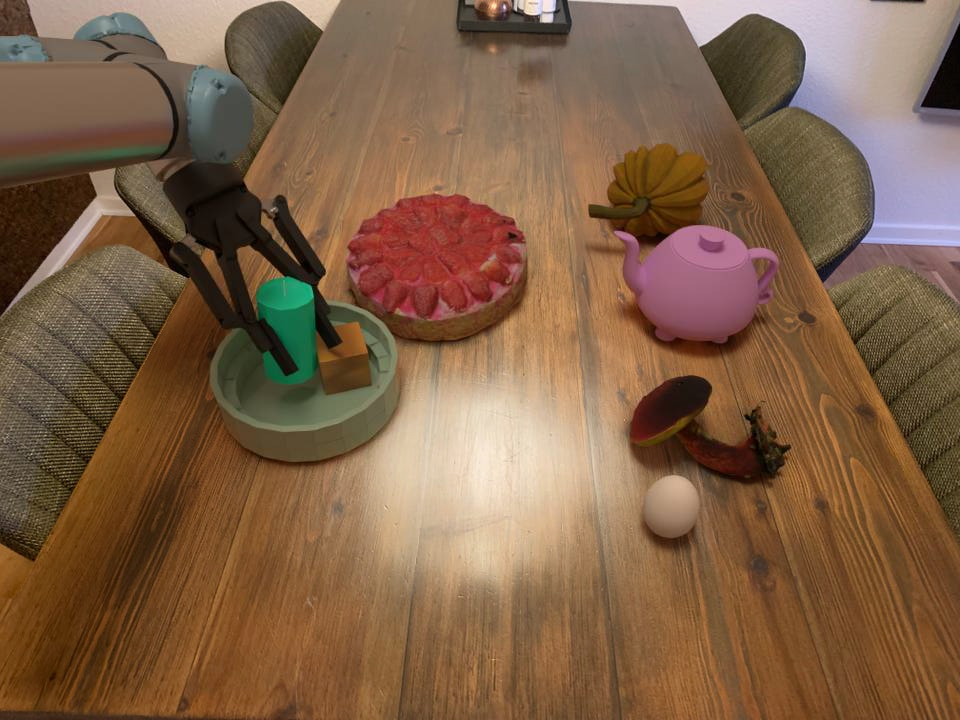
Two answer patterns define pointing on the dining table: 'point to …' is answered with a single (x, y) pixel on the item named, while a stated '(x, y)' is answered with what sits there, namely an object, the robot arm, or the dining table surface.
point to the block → (344, 360)
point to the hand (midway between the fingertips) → (314, 358)
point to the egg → (671, 506)
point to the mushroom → (675, 414)
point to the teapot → (698, 283)
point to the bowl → (305, 396)
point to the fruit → (655, 191)
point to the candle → (290, 326)
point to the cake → (437, 266)
